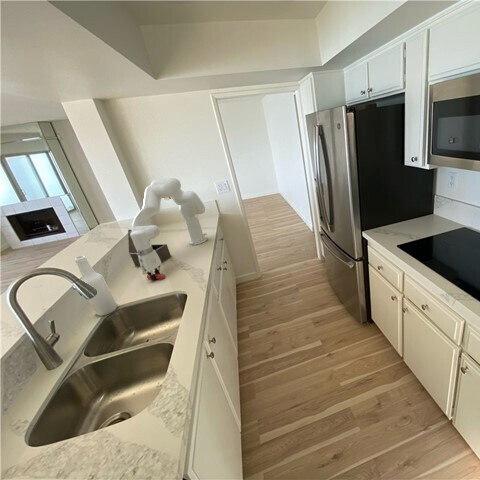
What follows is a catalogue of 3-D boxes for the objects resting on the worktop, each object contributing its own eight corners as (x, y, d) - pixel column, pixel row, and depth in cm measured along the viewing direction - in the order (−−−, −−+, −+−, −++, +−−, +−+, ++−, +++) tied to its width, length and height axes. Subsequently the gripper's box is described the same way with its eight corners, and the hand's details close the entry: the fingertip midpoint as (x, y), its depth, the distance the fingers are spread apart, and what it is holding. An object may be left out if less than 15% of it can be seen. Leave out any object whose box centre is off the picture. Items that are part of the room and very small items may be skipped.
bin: (152, 256, 191) (147, 244, 187) (171, 256, 187) (166, 244, 183) (135, 266, 178) (129, 253, 174) (155, 266, 174) (150, 253, 170)
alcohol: (104, 306, 136) (77, 254, 124) (121, 303, 137) (96, 252, 125) (92, 317, 128) (61, 263, 116) (110, 314, 128) (82, 260, 117)
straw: (146, 279, 159) (144, 275, 157) (150, 277, 161) (148, 272, 160) (163, 280, 156) (161, 275, 155) (166, 277, 158) (165, 273, 157)
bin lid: (129, 229, 174) (121, 229, 169) (149, 229, 170) (142, 229, 165) (130, 253, 174) (122, 253, 170) (150, 253, 170) (143, 253, 166)
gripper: (138, 257, 143) (151, 286, 150) (161, 244, 158) (171, 271, 165) (127, 257, 145) (140, 285, 152) (151, 245, 159) (161, 271, 167)
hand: (156, 278), depth 158 cm, fingers closed on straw, 3 cm apart
